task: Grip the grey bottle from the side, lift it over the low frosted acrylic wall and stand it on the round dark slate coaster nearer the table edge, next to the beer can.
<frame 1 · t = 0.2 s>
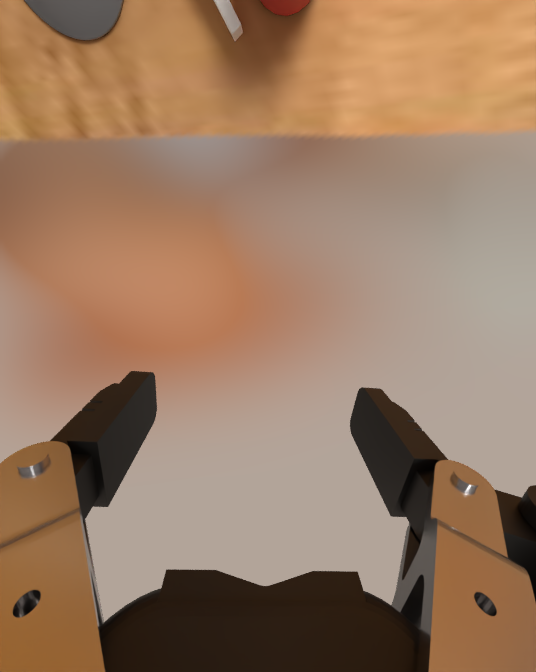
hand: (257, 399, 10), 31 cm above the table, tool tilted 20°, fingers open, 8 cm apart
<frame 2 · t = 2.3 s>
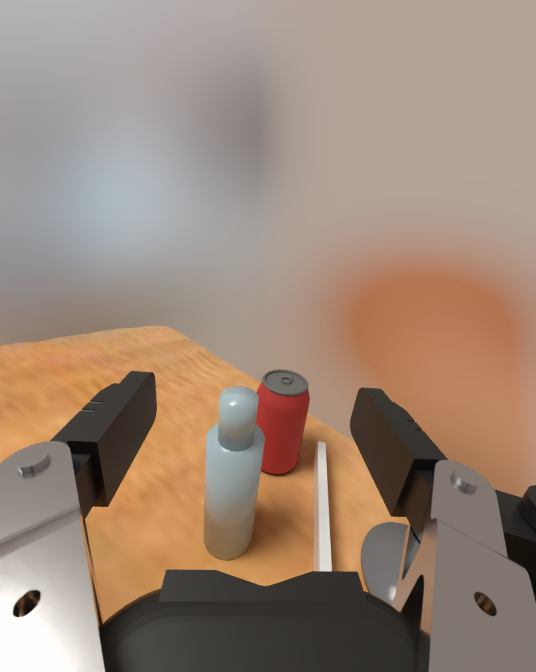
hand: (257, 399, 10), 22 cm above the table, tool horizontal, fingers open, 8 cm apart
grey bottle: (228, 532, 26), on the table
coaster: (417, 581, 24), on the table
wall: (318, 544, 26), on the table
beer can: (273, 457, 35), on the table
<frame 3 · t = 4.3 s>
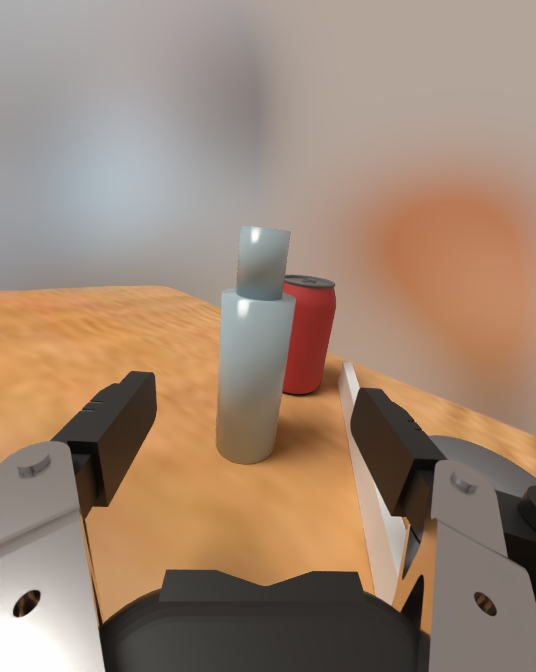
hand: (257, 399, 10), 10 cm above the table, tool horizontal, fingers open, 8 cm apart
grey bottle: (245, 440, 21), on the table
coaster: (482, 488, 19), on the table
wall: (356, 453, 21), on the table
beer can: (291, 382, 31), on the table
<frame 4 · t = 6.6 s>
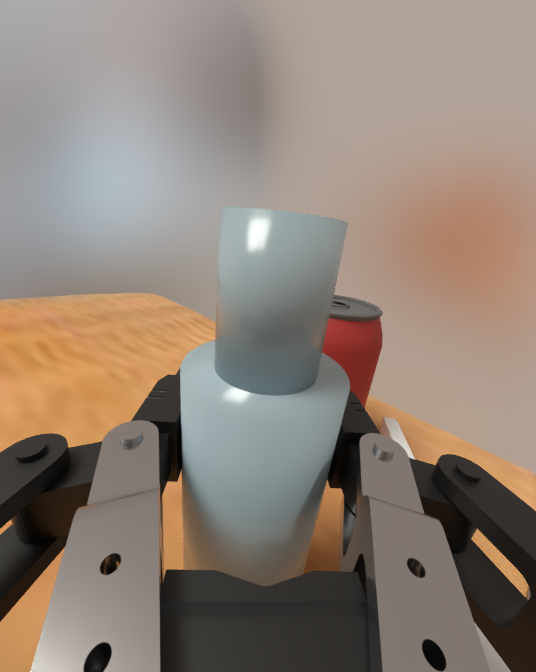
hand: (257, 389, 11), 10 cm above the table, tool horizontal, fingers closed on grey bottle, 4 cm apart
grey bottle: (239, 598, 12), on the table, touching gripper
wall: (438, 625, 12), on the table
beer can: (308, 445, 22), on the table
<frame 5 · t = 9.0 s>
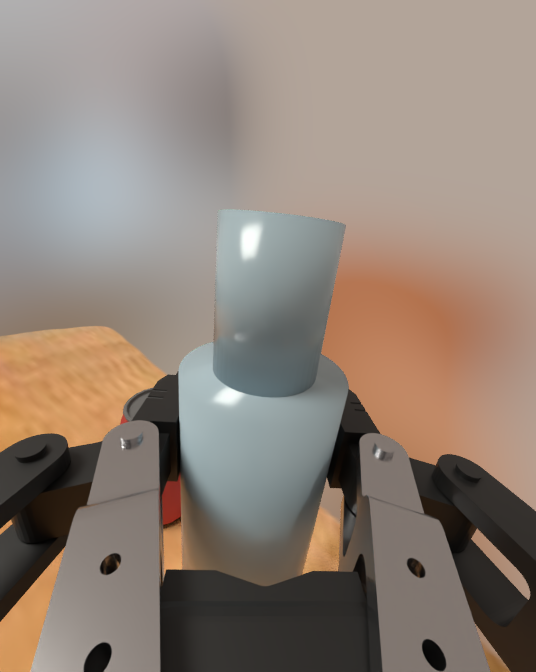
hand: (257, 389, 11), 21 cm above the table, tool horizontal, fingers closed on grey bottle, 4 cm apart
grey bottle: (238, 600, 12), point 11 cm above the table, touching gripper
beer can: (163, 498, 27), on the table
when the fingers open (11 cm above the table, at t = 11.7 s): grey bottle stays where it is, resting on coaster.
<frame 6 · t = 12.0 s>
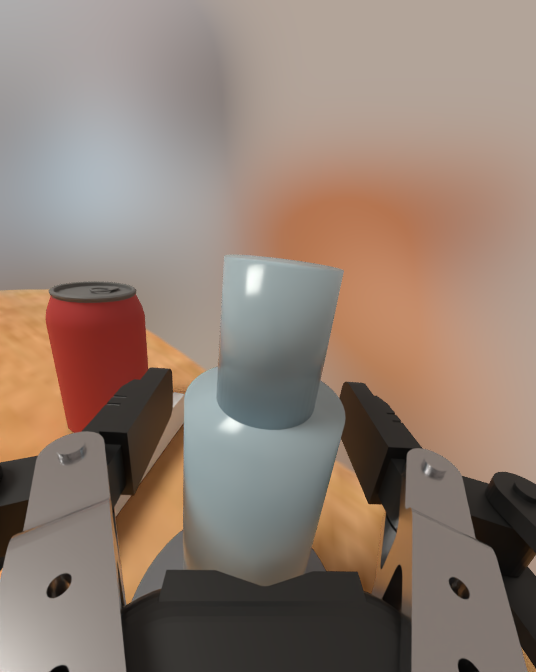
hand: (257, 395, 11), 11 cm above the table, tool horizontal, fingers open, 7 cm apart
grey bottle: (236, 615, 12), resting on coaster
coaster: (236, 616, 12), on the table
wall: (84, 546, 14), on the table
beer can: (112, 418, 24), on the table
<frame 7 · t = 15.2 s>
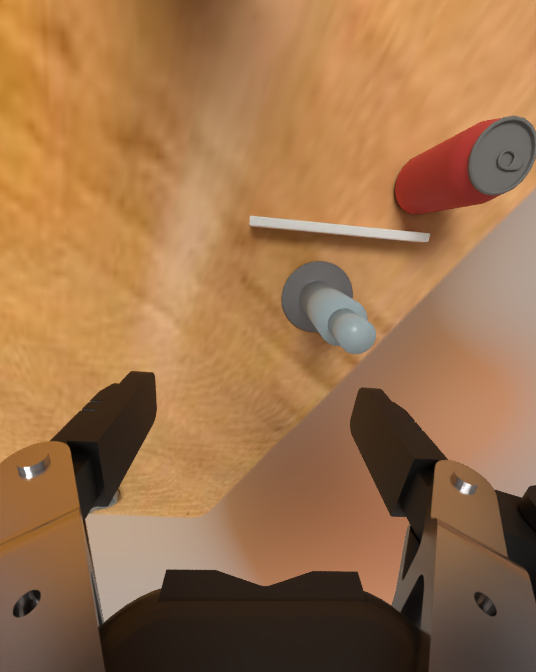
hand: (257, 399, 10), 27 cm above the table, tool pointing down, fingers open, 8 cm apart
grey bottle: (316, 298, 36), resting on coaster
coaster: (316, 297, 37), on the table
wall: (334, 230, 34), on the table
beer can: (417, 186, 33), on the table
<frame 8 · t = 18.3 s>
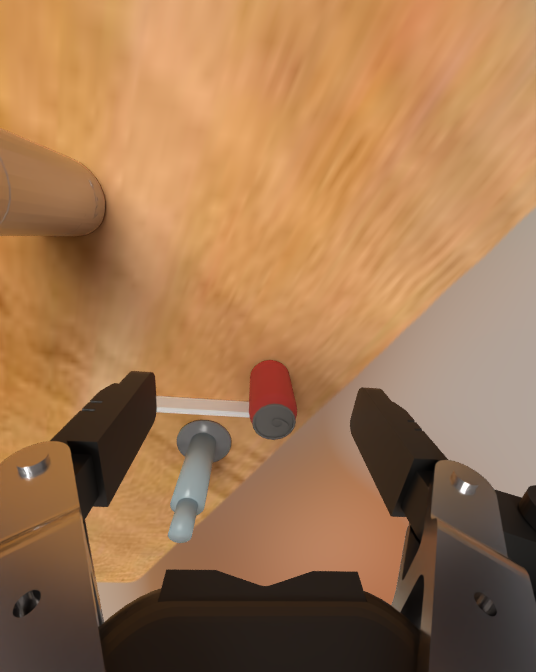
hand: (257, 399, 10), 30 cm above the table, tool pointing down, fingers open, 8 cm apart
grey bottle: (203, 443, 48), resting on coaster
coaster: (204, 441, 49), on the table
wall: (211, 401, 46), on the table
beer can: (269, 375, 44), on the table
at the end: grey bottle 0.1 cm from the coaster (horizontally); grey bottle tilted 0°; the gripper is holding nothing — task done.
